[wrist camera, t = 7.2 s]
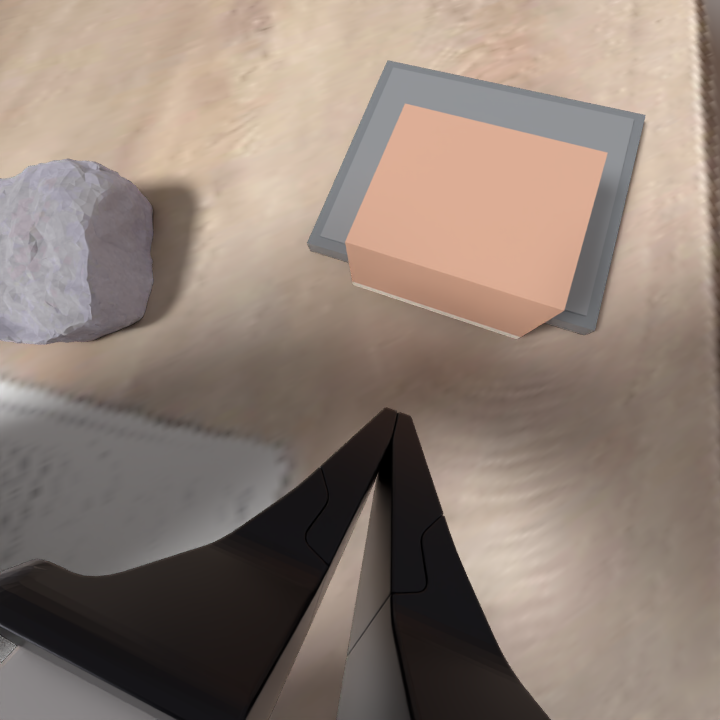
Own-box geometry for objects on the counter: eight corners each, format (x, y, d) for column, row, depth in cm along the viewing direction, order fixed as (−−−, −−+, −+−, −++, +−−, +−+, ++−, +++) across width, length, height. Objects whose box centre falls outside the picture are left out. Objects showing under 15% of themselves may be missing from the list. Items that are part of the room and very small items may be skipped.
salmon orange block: (564, 310, 11) (607, 152, 13) (344, 242, 13) (405, 103, 14) (516, 339, 15) (553, 216, 17) (353, 284, 16) (399, 173, 18)
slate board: (584, 335, 16) (596, 330, 15) (310, 250, 18) (306, 241, 17) (634, 128, 18) (647, 113, 18) (387, 74, 20) (387, 58, 20)
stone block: (173, 340, 20) (161, 189, 20) (105, 334, 15) (89, 133, 15) (9, 356, 21) (-2, 211, 21) (-105, 355, 16) (-118, 166, 16)
